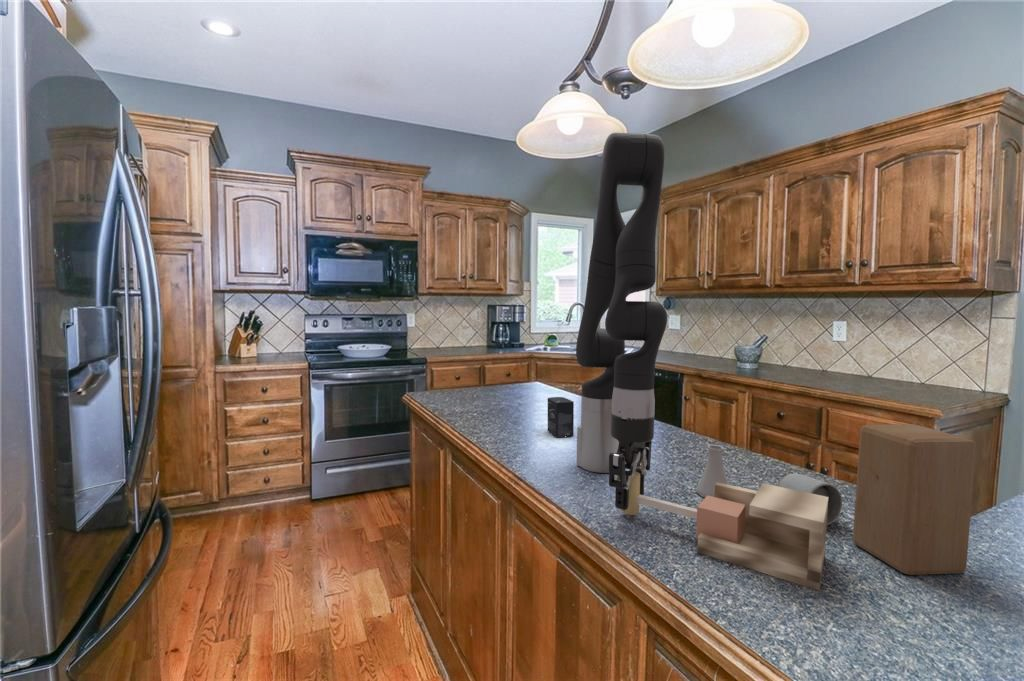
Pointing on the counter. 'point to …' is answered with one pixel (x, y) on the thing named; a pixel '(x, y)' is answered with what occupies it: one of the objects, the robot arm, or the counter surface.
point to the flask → (712, 472)
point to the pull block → (697, 513)
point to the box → (560, 416)
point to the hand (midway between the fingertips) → (629, 501)
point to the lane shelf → (775, 533)
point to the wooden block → (914, 497)
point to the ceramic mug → (815, 492)
